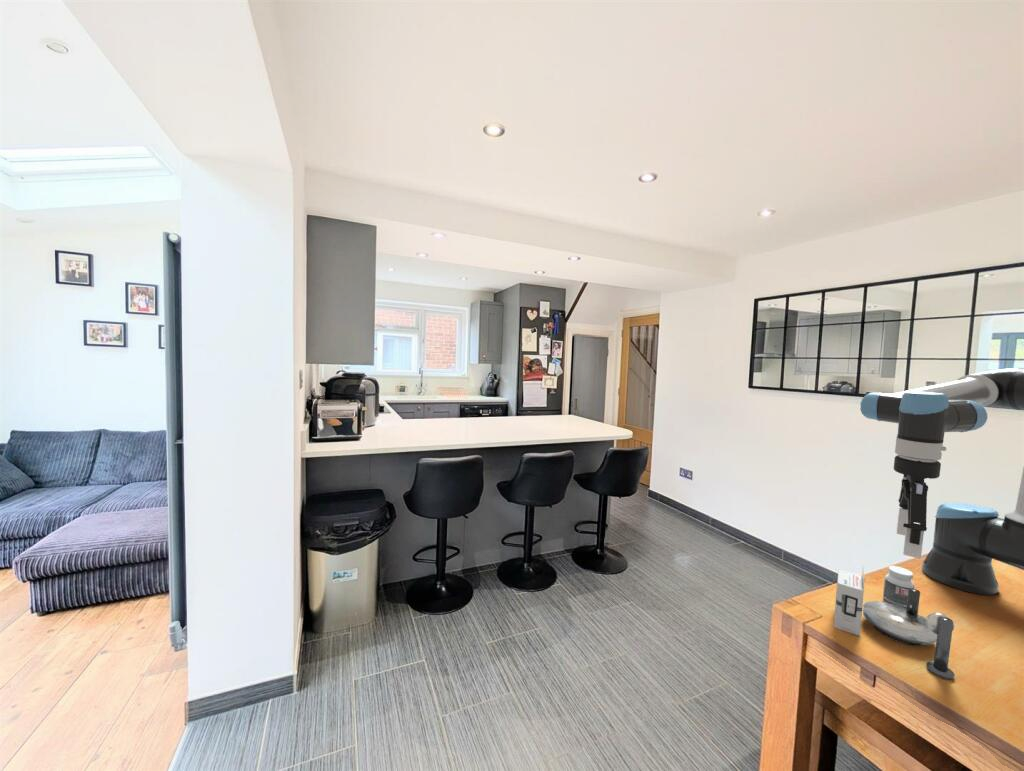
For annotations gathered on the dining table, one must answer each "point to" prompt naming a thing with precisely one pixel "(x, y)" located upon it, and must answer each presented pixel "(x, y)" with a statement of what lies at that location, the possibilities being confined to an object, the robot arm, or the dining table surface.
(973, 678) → the dining table surface
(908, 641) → the turntable base
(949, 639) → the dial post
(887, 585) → the pill bottle
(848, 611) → the ink box
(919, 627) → the silver round piece
